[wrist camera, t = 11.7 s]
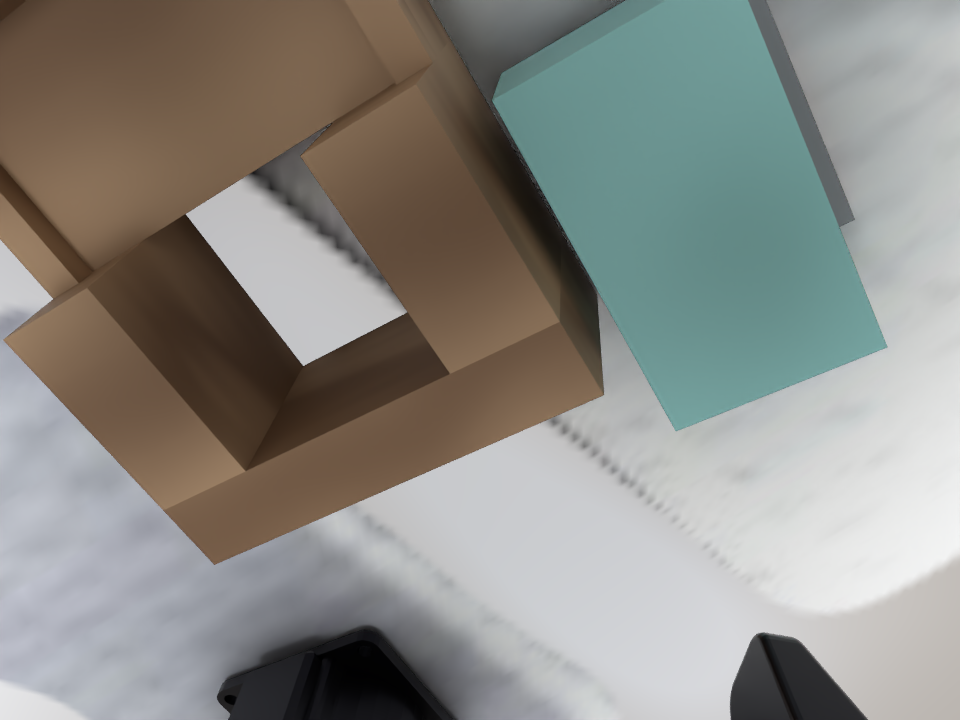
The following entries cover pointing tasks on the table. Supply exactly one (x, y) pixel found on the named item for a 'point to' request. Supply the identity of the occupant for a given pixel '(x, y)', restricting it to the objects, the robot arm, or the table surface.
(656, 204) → the teal rectangular block
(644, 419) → the table surface
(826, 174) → the mat
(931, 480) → the table surface
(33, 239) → the pocket board
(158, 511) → the table surface
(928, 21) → the table surface
